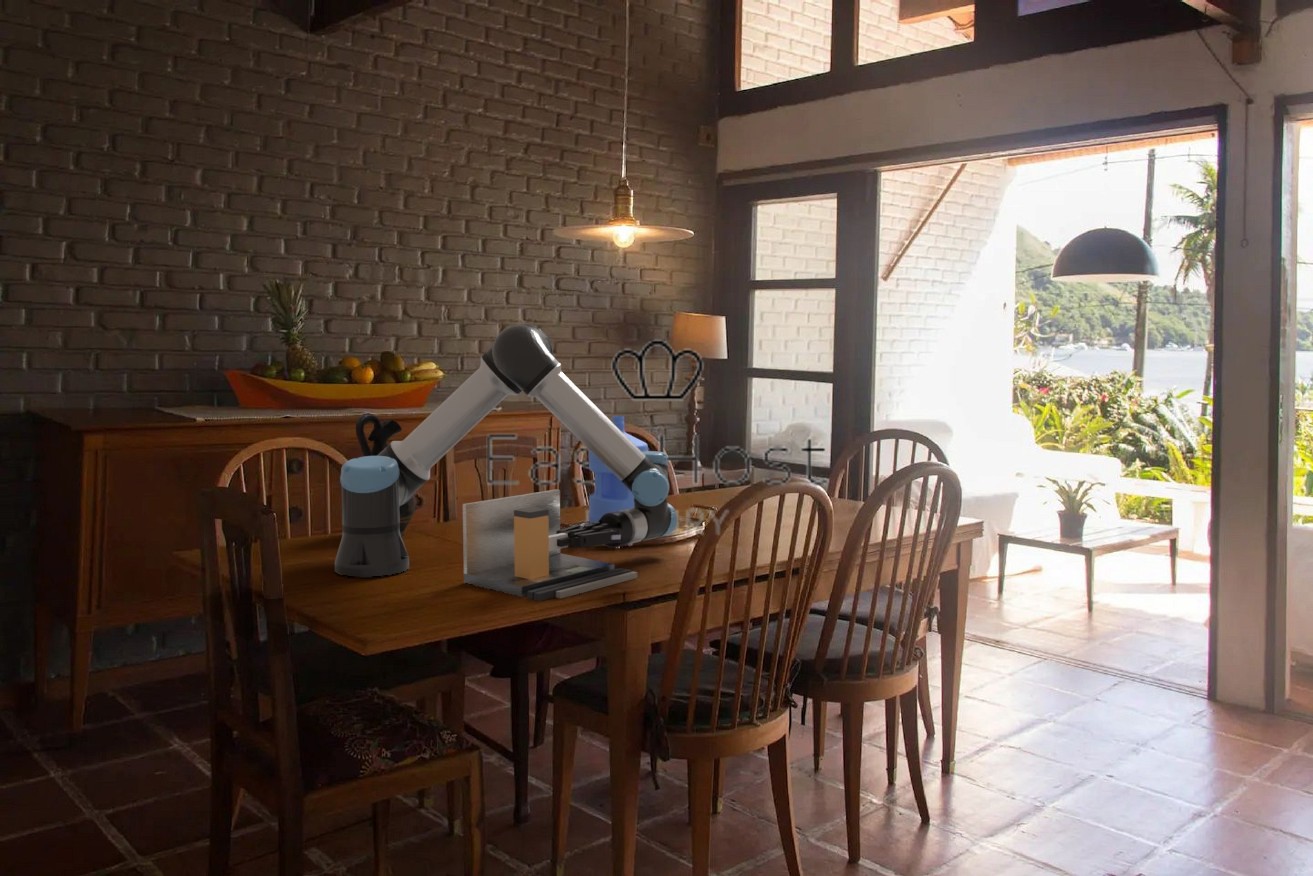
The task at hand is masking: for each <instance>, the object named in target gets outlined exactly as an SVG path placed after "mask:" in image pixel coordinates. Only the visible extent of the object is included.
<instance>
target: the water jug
mask: <svg viewBox="0 0 1313 876" xmlns="http://www.w3.org/2000/svg"><path fill="white" fill-rule="evenodd" d="M611 418H612V423H613V424H614V425H615V426H616V427H617V428H618V429H619V430H620V431H621V432H622V433H623V434H624V435H625V436H626V437H627V438H628V439H629V440H630V441H631V442H632V443H633V444H634V445H635V446H636V447H637V448H638V449H639V450H640V451H641V452H644V451H649V449H648V448H649V447H648V443H646V442H644V441H643V440H641V439H639V438H637V437H635V436H633V435H631V434H630V433H627V432H626V431H625V416H623V415H617V416H616V415H614V416H611ZM588 470H590V471H591V472H593V473H594V492H593V493H591V494H590V495H589V496H588V497H589V498H588V500H589V501H588V502H589V503H588V508H589V509H588V511H589V512H588V521H589V523H590V522H591V523H593V522H599V520H600V518H601V517H602V516H603V515H604V514H606V513H610V512H616V511H619V510H625V509H630V508H634V495H633V493H632V492H631V491H630V490H629V489H628V488H627V487H626V486H625V485H624V484H623V483H622V482H621V481H620V480H619V479H618V478H617V477H616V476H615V475H614V474H613V473H612V472H611V471H610V470H609V469H608V468H607V467H606V466H605V465H604V464H603V463H602V462H601V461H600V460H599V459H598V458H597V457H596V456H595V455H594V454H593V453H592V452H591V451H590V450H589V449H588ZM591 523H590V524H591Z"/></svg>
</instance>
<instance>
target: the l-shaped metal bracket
mask: <svg viewBox="0 0 1313 876" xmlns="http://www.w3.org/2000/svg"><path fill="white" fill-rule="evenodd" d="M529 507H537V508H544V509H548V511H549V536H550V535H555V534H556V531H558V530H561V490H560V489H558V488H557V489H550V490H544V491H539V492H538V491H537V492H531V493H530V492H529V493H525V494H519V495H511V496H504V497H500V498H493V499H488V500H487V499H486V500H480V501H475V502H467V503H462V535H463V536H462V537H463V539H462V543H463V546H462V548H463V549H462V550H463V552H462V553H463V554H462V555H463V584H465V583H468V584H467V585H469V584H474V585H477V586H476V587H478V586H479V587H478V588H482V587H486V588H487V589H486V588H485V589H486V590H490V589H493V590H492V591H494V590H496V591H495V592H498V591H502V592H504V594H507V593H510V594H509V595H511V594H512V595H511V596H515V595H517V596H516V597H519V598H524V597H527V591H530V590H534V589H538V588H542V587H546V586H550V585H554V584H558V583H562V582H566V581H570V580H574V579H578V578H582V577H586V576H590V575H594V574H598V573H602V572H606V571H610V570H614V569H616V568H615V564H616V563H611V562H606V561H602V560H596V559H591V558H585V557H581V556H577V555H576V556H575V555H570V554H566V553H565V554H564V553H561V549H556V550H552V551H549V575H547V576H543V577H539V578H535V579H531V580H530V579H526V578H521V577H517V576H515V553H514V510H517V509H523V508H529ZM502 592H501V593H502Z"/></svg>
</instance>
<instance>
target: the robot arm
mask: <svg viewBox="0 0 1313 876" xmlns="http://www.w3.org/2000/svg"><path fill="white" fill-rule="evenodd" d="M553 351H554V349H553V345H552V343H551V340H550V339H549V337H548V336H547V335H546V333H545V332H544V331H543V330H541V328H539V327H537V326H534V325H531V324H516V325H511V326H508V327H506V328H505V329H503V330H501V332H500V333H499V334H498V335H497V336H496V338H495V339H494V342H493V344H492V345H491V346H490V347H489V348H488V349H487V350H486V351H485V352H484V353H483V354H482V355H481V356H480V366H479V368H478V369H476V370H475V372H474V373H472V374H471V375H470V376H469V377H468V378H467V379H466V380H464V382H463V383H462V384H461V385H460V386H458V388H457V389H456V390H454V391H453V392H452V393H451V394H450V395H449V396H447V398H446V399H445V400H444V401H443V402H442V403H441V404H440V405H439V406H437V408H435V409H434V410H433V411H432V413H430V414H429V415H428V416H427V417H426V418H425V419H424V420H423V421H422V422H421V423H420V424H418V425H417V427H416V428H415V429H413V430H412V432H410V433H409V434H408V435H407V436H406V437H405V438H404V439H403V440H392V441H391V442H390V443H388V444H387V447H386V448H385V449H384V450H383V451H381V452H380V453H379V454H378V455H377V456H364V455H363V456H360V457H359V456H358V457H356V458H354V457H353V458H352V459H349V460H346V462H344V463H343V464H342V466H341V469H340V478H339V479H340V480H339V481H340V484H341V485H340V489H341V490H340V492H341V494H340V495H341V497H340V498H341V518H342V519H341V525H342V536H341V540H340V543H339V546H338V550H337V553H336V556H335V559H334V572H336V573H340V574H342V575H349V576H360V577H359V578H373V577H372V576H381V577H383V576H382V575H388V576H393V575H392V574H394V575H396V574H395V573H398V574H401V572H402V573H404V572H406V571H408V570H409V569H410V557H409V555H408V551H407V548H406V546H405V542H404V540H403V538H402V537H403V536H401V534H400V516H399V506H401V505H403V504H405V503H406V502H408V501H409V500H410V499H411V498H412V497H413V495H414V496H415V493H416V492H417V491H418V490H419V489H420V488H422V486H424V485H425V484H426V482H428V481H429V480H430V479H431V468H432V467H433V466H435V464H437V463H438V462H439V461H440V460H441V459H442V458H443V457H444V456H445V455H446V454H447V453H448V452H449V451H450V450H452V448H454V447H455V446H456V445H457V444H458V443H459V442H460V441H461V440H462V439H463V438H464V437H465V436H466V435H467V434H468V433H470V431H472V430H473V429H474V428H475V427H476V426H477V425H478V424H479V423H480V422H481V421H482V420H483V419H484V418H485V417H486V416H487V415H489V414H490V413H491V412H492V410H493V409H495V408H496V407H497V406H498V405H499V404H500V403H501V402H502V401H503V400H504V399H505V398H506V397H508V396H518V395H519V394H520V393H522V392H523V393H524V394H525V395H526V396H527V397H529V398H530V397H531V398H535V399H537V400H538V402H540V403H541V404H542V405H543V406H544V407H545V408H546V409H547V410H548V411H549V412H551V414H552V415H553V416H554V417H555V418H556V419H557V420H558V421H560V423H562V425H564V426H565V427H566V429H567V430H569V432H570V433H571V434H573V436H575V437H576V439H578V440H579V442H581V443H582V444H583V445H584V446H585V447H586V448H587V449H588V451H589V450H590V451H591V452H592V453H593V454H594V455H595V456H596V457H597V458H598V459H599V460H600V461H601V462H602V463H603V464H604V465H605V466H606V467H607V468H608V469H609V470H610V471H611V472H612V473H613V474H614V475H615V476H616V477H617V478H618V479H619V480H620V481H621V482H622V483H623V484H624V485H625V486H626V487H627V488H628V489H629V490H630V491H631V492H632V493H633V495H634V508H630V509H625V510H619V511H616V512H610V513H606V514H604V515H603V516H602V517H601V518H600V520H599V522H593V523H589V524H585V525H583V524H581V523H579V522H577V523H575V524H574V525H571V526H568V527H565V528H562V529H561V528H560V530H558V531H556V534H555V535H550V536H549V551H552V550H556V549H560V550H561V549H562V550H563V549H566V548H568V547H571V548H574V547H578V548H587V547H594V546H602V545H605V546H607V547H608V548H612V549H613V548H619V547H623V546H626V545H627V546H629V547H631V546H633V544H635V543H639V542H643V541H648V540H653V539H660V538H662V537H665V536H668V535H670V534H671V533H673V532H674V531H675V529H676V527H677V525H678V515H677V512H676V509H675V508H674V506H672V505H671V504H670V503H669V501H668V499H669V498H668V495H669V492H670V482H669V479H668V477H669V476H668V475H669V474H668V473H669V464H668V454H667V453H666V452H663V451H656V450H655V451H654V450H652V451H651V450H648V451H644V452H641V451H640V450H639V449H638V448H637V447H636V446H635V445H634V444H633V443H632V442H631V441H630V440H629V439H628V438H627V437H626V436H625V435H624V434H623V433H622V432H621V431H620V430H619V429H618V428H617V427H616V426H615V425H614V424H613V421H611V419H609V418H608V416H607V415H606V414H604V412H602V410H601V409H599V407H597V405H596V404H594V403H593V401H592V400H591V399H589V397H588V396H586V394H585V393H583V392H582V390H580V388H578V386H577V385H576V384H575V383H574V382H573V381H572V380H570V379H569V377H568V376H567V375H566V374H564V372H563V371H562V364H561V362H559V361H558V360H557V359H556V357H555V356H554V355H553ZM407 569H408V570H407ZM403 571H404V572H403ZM336 573H335V574H336ZM342 575H341V576H342Z"/></svg>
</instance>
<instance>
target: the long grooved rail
mask: <svg viewBox="0 0 1313 876" xmlns="http://www.w3.org/2000/svg"><path fill="white" fill-rule="evenodd" d="M635 579H638V572H637V571H632V569H628V568H627V569H625V568H623V567H619V568H615V569H614V570H610V571H606V572H602V573H598V574H594V575H590V576H586V577H582V578H578V579H574V580H570V581H566V582H562V583H558V584H554V585H550V586H546V587H542V588H538V589H534V590H530V591H527V596H526V597H527V598H528V599H527V600H531V601H536V602H542V601H545V600H549V599H552V598H556V599H563V598H564V599H565V598H569V597H572V596H575V595H579V593H580V594H583V593H586V592H589V591H590V592H591V591H594V590H597V589H598V590H599V589H602V588H605V587H609V586H612V585H613V586H614V585H617V584H620V583H623V582H624V583H625V582H628V581H632V580H635Z"/></svg>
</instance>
